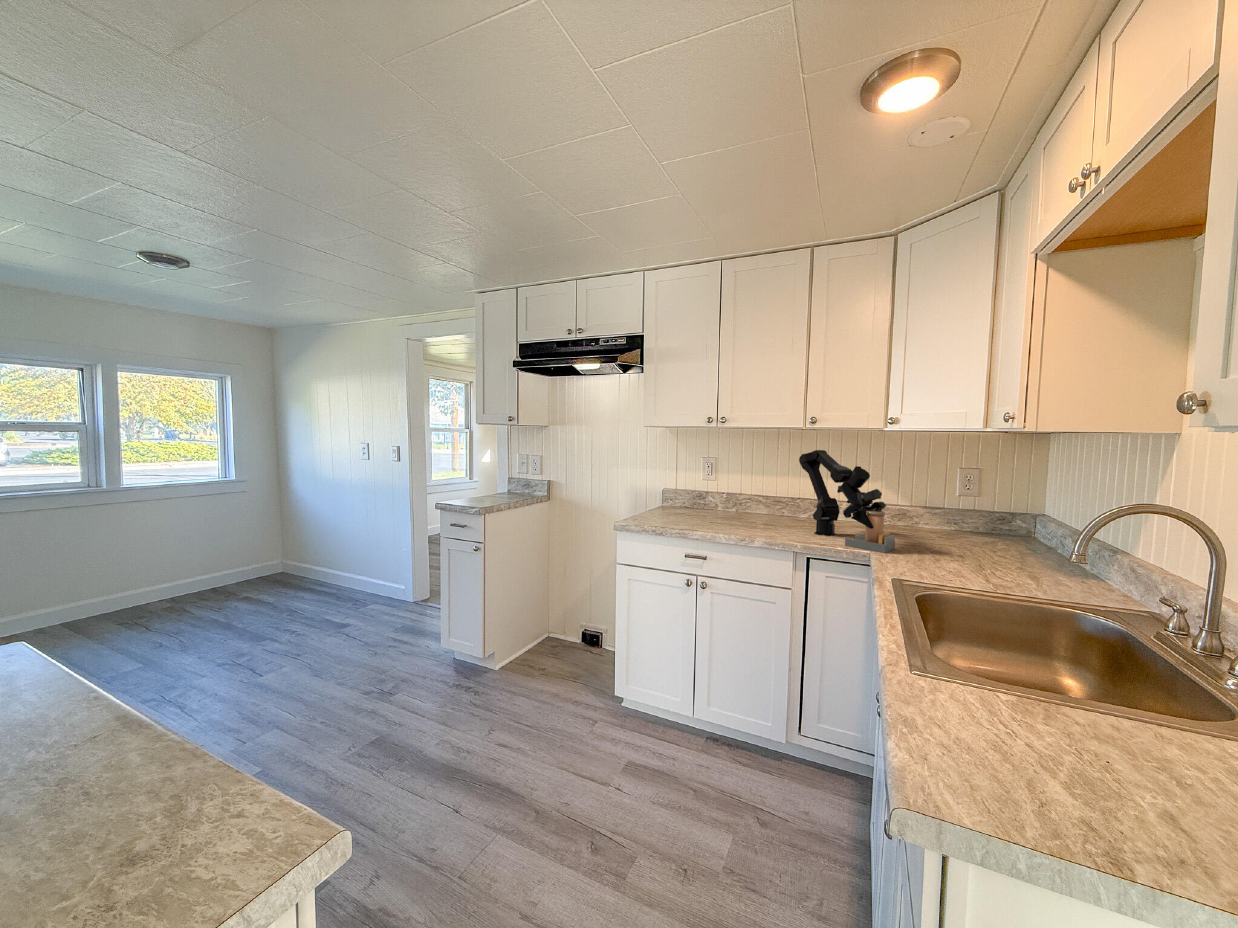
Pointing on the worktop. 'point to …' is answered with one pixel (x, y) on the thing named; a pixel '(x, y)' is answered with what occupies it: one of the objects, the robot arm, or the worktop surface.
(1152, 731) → the worktop surface
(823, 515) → the robot arm
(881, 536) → the block
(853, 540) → the tray
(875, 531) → the terracotta jar
